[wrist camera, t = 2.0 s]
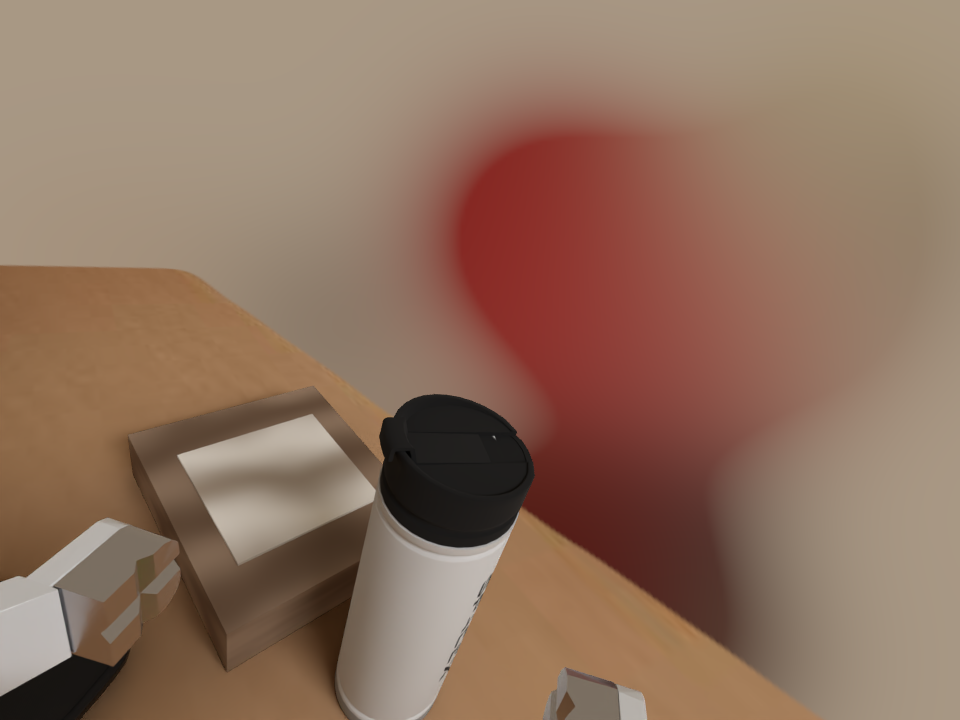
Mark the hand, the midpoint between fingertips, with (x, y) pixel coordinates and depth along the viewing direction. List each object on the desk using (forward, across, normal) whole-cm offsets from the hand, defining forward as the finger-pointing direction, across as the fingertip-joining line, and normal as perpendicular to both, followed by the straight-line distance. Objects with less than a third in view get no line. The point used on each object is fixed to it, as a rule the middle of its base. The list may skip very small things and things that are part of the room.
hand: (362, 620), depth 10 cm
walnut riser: (+20, +12, +20) cm, 31 cm away
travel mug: (+12, +1, +22) cm, 25 cm away
